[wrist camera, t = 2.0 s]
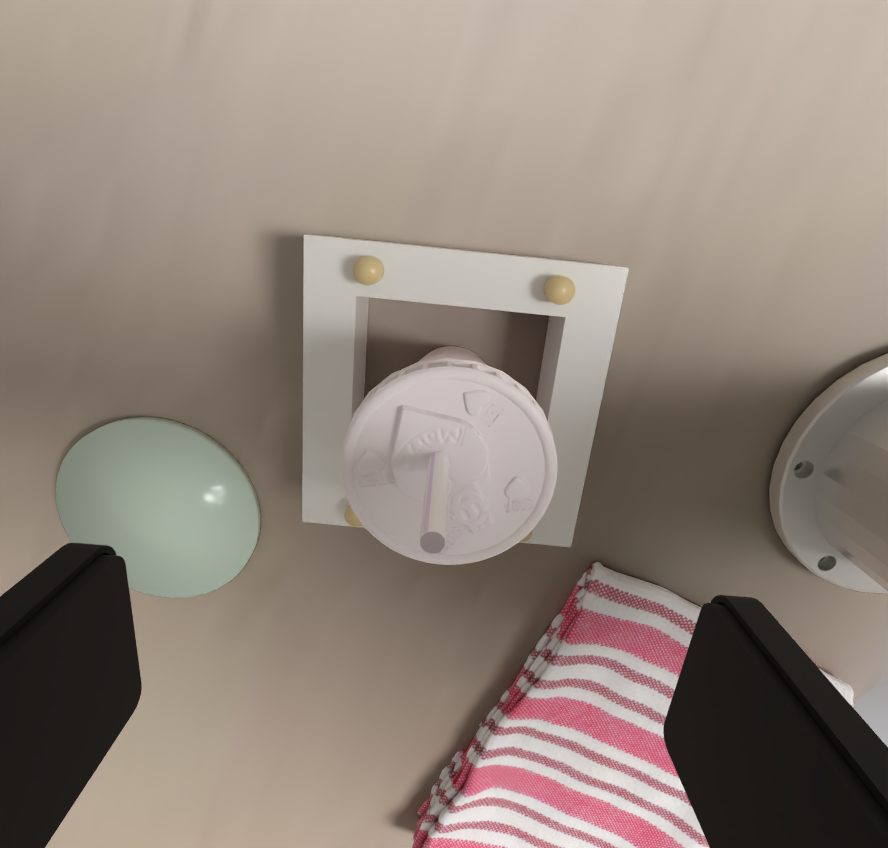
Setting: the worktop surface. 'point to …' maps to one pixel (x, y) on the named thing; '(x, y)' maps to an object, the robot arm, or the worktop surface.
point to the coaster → (160, 504)
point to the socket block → (466, 285)
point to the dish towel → (580, 734)
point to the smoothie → (449, 460)
